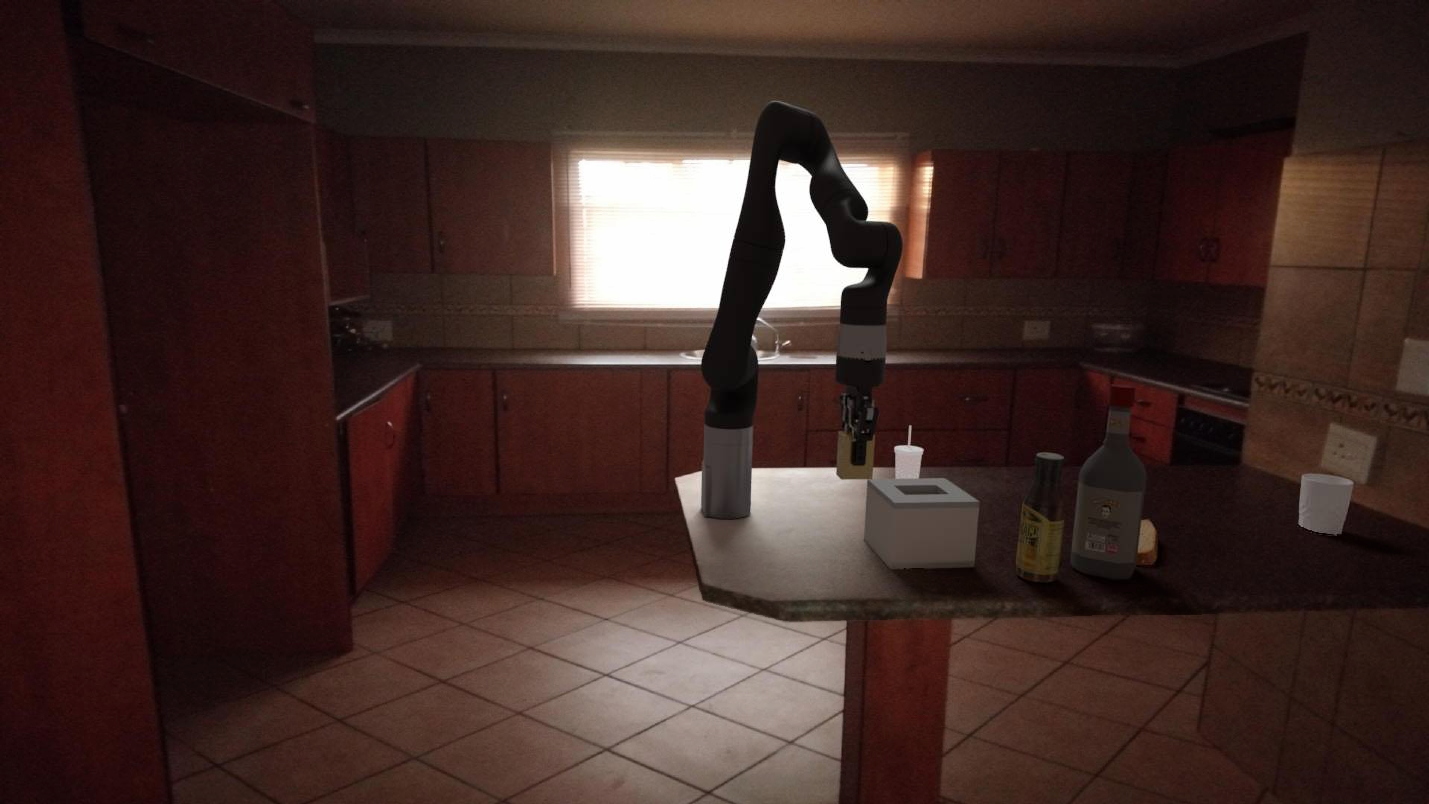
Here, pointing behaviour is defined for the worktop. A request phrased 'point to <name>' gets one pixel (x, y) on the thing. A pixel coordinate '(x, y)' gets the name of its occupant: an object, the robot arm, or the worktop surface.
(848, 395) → the robot arm
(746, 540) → the worktop surface
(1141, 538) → the slice of bread
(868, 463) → the tall khaki box
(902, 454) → the beverage cup
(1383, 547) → the worktop surface
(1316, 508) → the white cup
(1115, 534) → the liquor
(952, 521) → the grey box with opening
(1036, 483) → the sauce bottle
